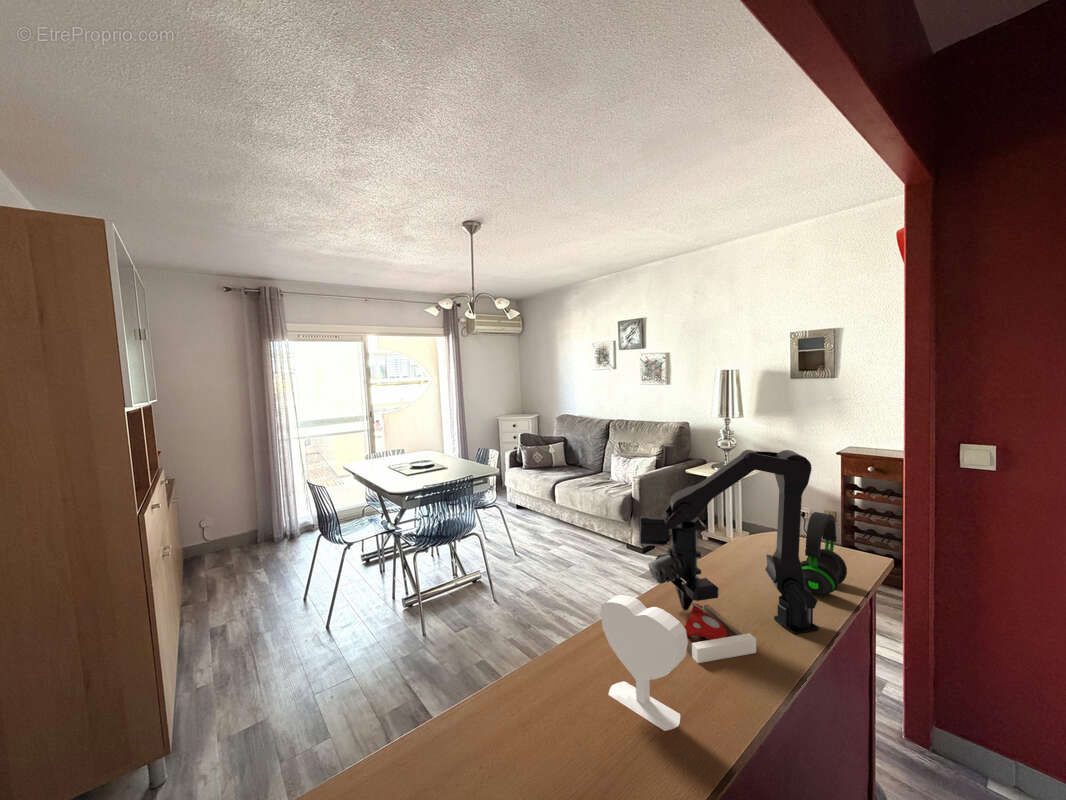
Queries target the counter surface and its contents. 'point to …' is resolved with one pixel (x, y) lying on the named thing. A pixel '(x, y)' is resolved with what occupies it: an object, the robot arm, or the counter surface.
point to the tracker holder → (704, 625)
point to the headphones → (822, 556)
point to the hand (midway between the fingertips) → (685, 609)
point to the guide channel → (722, 642)
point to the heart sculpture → (644, 653)
